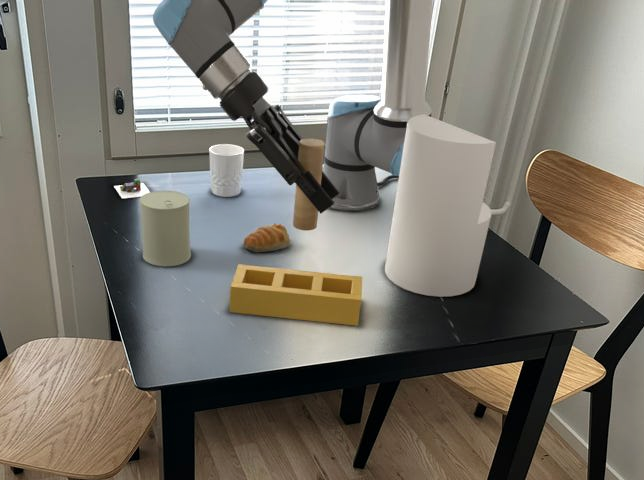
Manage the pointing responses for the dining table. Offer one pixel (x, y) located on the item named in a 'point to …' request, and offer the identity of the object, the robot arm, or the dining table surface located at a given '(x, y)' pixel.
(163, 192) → the can
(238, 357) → the dining table surface
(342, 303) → the yellow peg holder
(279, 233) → the pastry
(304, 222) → the peg
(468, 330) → the dining table surface
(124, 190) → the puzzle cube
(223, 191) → the white cup
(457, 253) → the cylinder
